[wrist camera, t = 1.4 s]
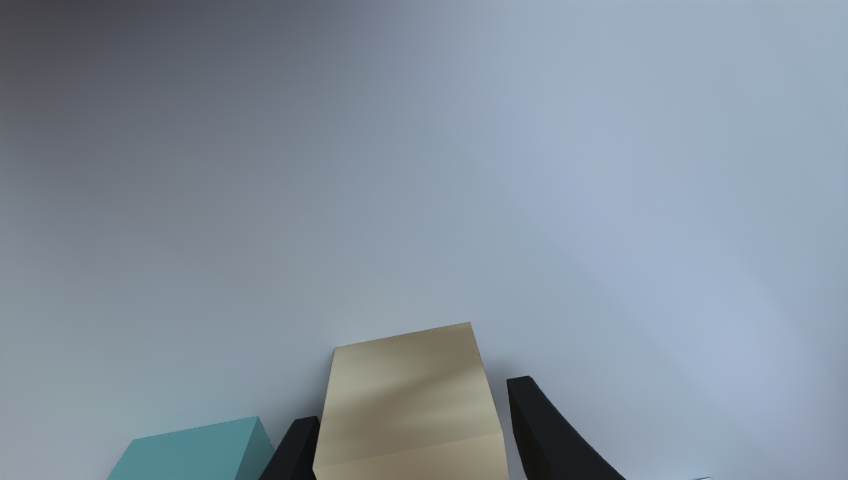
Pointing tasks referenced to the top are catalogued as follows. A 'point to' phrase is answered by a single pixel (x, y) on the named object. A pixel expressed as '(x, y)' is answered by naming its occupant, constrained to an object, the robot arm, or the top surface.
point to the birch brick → (411, 411)
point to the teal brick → (199, 454)
